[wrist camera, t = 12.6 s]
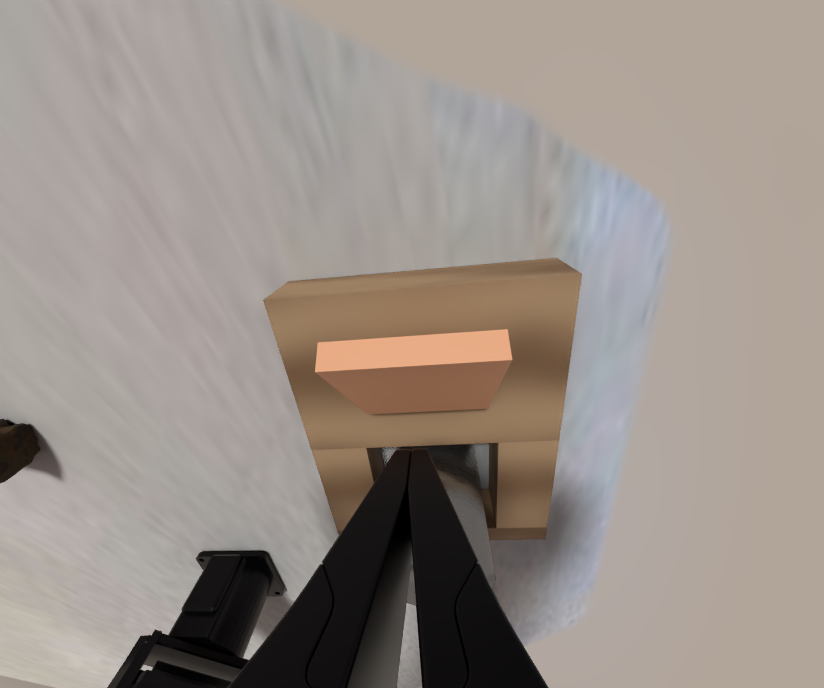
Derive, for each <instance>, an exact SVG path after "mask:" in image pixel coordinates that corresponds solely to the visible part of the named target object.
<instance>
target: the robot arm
mask: <svg viewBox="0 0 824 688" xmlns="http://www.w3.org/2000/svg"><path fill="white" fill-rule="evenodd" d="M412 557H413V570H414V583H415V596H416V609H417V623H418V636H419V649H420V662H421V675H422V688H548V686H547V685H546V683H545V681H544V680H543V678H542V676H541V675H540V673H539V671H538V670H537V668H536V666H535V665H534V663H533V661H532V660H531V658H530V656H529V655H528V653H527V651H526V650H525V648H524V646H523V645H522V643H521V641H520V640H519V638H518V636H517V635H516V633H515V631H514V629H513V627H512V626H511V624H510V622H509V620H508V619H507V617H506V615H505V613H504V611H503V610H502V608H501V606H500V604H499V602H498V600H497V598H496V596H495V594H494V592H493V590H492V588H491V586H490V584H489V582H488V580H487V578H486V576H485V573H484V571H483V569H482V567H481V565H480V564H479V563H478V559H477V556H476V554H475V552H474V550H473V548H472V546H471V543H470V541H469V539H468V537H467V535H466V533H465V530H464V528H463V526H462V524H461V522H460V520H459V517H458V515H457V513H456V511H455V509H454V507H453V504H452V502H451V500H450V498H449V496H448V493H447V491H446V489H445V487H444V485H443V483H442V480H441V478H440V476H439V474H438V472H437V470H436V467H435V465H434V463H433V461H432V459H431V457H430V454H429V452H428V450H427V449H425V448H420V449H413V450H412V451H411V450H410V449H398V450H396V451H395V452H394V454H393V455H392V457H391V458H390V460H389V461H388V463H387V464H386V466H385V467H384V469H383V470H382V472H381V473H380V475H379V476H378V478H377V479H376V481H375V482H374V484H373V485H372V487H371V488H370V490H369V491H368V493H367V494H366V496H365V497H364V499H363V500H362V502H361V503H360V505H359V506H358V508H357V510H356V511H355V513H354V514H353V516H352V517H351V519H350V520H349V522H348V523H347V525H346V526H345V528H344V529H343V531H342V532H341V534H340V535H339V537H338V538H337V540H336V541H335V543H334V544H333V546H332V547H331V549H330V550H329V552H328V553H327V555H326V556H325V558H324V559H323V561H322V563H323V565H322V564H320V565H319V567H318V568H317V570H316V571H315V573H314V574H313V576H312V577H311V579H310V580H309V582H308V583H307V585H306V586H305V588H304V589H303V591H302V592H301V593H300V595H299V596H298V598H297V599H296V601H295V602H294V603H293V605H292V606H291V608H290V609H289V610H288V611H287V613H286V614H285V615H284V617H283V618H282V619H281V621H280V622H279V623H278V624H277V626H276V627H275V628H274V630H273V631H272V632H271V634H270V635H269V636H268V637H267V639H266V640H265V641H264V642H263V644H262V645H261V646H260V647H259V649H258V650H257V651H256V652H255V654H254V655H253V656H252V657H251V659H250V660H247V659H244V658H243V656H244V654H245V651H246V649H247V646H248V644H249V641H250V638H251V636H252V633H253V631H254V628H255V626H256V623H257V620H258V618H259V615H260V613H261V610H262V608H263V605H264V602H265V600H266V597H267V596H282V595H283V593H284V590H285V589H284V587H283V585H282V583H281V581H280V579H279V577H278V575H277V573H276V571H275V569H274V567H273V565H272V563H271V561H270V559H269V557H268V555H267V554H266V553H265V552H260V551H259V552H200V553H199V554H198V556H197V558H196V560H197V562H198V563H199V565H200V566H201V567H202V569H203V572H202V574H201V576H200V577H199V579H198V581H197V583H196V584H195V586H194V588H193V590H192V591H191V593H190V595H189V596H188V598H187V600H186V602H185V603H184V605H183V607H182V612H181V614H180V616H179V617H178V619H177V621H176V623H175V624H174V626H173V628H172V630H171V631H170V633H169V635H166V634H162V631H158V630H155V631H154V632H153V634H152V636H151V635H148V636H140V638H139V640H138V641H137V643H136V644H135V646H134V647H133V649H132V651H131V652H130V654H129V655H128V657H127V659H126V660H125V662H124V663H123V665H122V666H121V668H120V669H119V671H118V672H117V674H116V675H115V677H114V678H113V680H112V681H111V683H110V684H109V686H108V687H107V688H397V679H398V671H399V662H400V654H401V645H402V637H403V629H404V620H405V612H406V603H407V595H408V586H409V578H410V570H411V561H412ZM143 664H144V665H148V666H151V667H153V669H152V670H151V671H150V670H146V671H143V670H141V668H142V666H143Z"/></svg>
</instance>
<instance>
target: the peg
mask: <svg viewBox="0 0 824 688" xmlns="http://www.w3.org/2000/svg"><path fill="white" fill-rule="evenodd" d="M420 448H425V449H427V450H428V452H429V454H430V457H431V459H432V461H433V463H434V465H435V467H436V470H437V472H438V474H439V476H440V478H441V480H442V483H443V485H444V487H445V489H446V491H447V493H448V496H449V498H450V500H451V502H452V504H453V507H454V509H455V511H456V513H457V515H458V517H459V520H460V522H461V524H462V526H463V528H464V530H465V533H466V535H467V537H468V539H469V541H470V543H471V546H472V548H473V550H474V552H475V554H476V556H477V559H478V563H479V564H480V565H481V567H482V569H483V571H484V573H485V576H486V578H487V580H488V582H489V584H490V586H491V588H493V587H494V584H495V572H494V566H493V559H492V553H491V547H490V541H489V535H488V529H487V523H486V516H485V510H484V504H483V498H482V492H481V486H480V480H479V474H478V467H477V461H476V455H475V449H474V445H473V444H454V445H429V446H403V447H397V448H396V450H398V449H410V450H411V451H412V450H413V449H420ZM407 603H409V604H412V605H416V596H415V583H414V570H413V557H412V561H411V570H410V578H409V586H408V595H407Z"/></svg>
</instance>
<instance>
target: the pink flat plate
mask: <svg viewBox="0 0 824 688" xmlns="http://www.w3.org/2000/svg"><path fill="white" fill-rule="evenodd" d="M511 362H512V354H511V348H510V341H509V335H508V329H504V330H490V331H475V332H461V333H447V334H432V335H418V336H404V337H389V338H375V339H361V340H346V341H332V342H318V345H317V356H316V366H315V373H317V374H318V375H319V376H320V377H322V378H323V379H324V380H325V381H327V382H328V383H329V384H330V385H332V386H333V387H334V388H335V389H337V390H338V391H339V392H340V393H342V394H343V395H344V396H345V397H347V398H348V399H349V400H350V401H351V402H353V403H354V404H355V405H356V406H358V407H359V408H360V409H361V410H363V411H364V412H365V413H366V414H388V413H409V412H429V411H450V410H470V409H488V407H489V405H490V403H491V401H492V399H493V397H494V395H495V393H496V391H497V389H498V387H499V385H500V383H501V381H502V379H503V377H504V375H505V373H506V372H507V370H508V368H509V366H510V364H511Z"/></svg>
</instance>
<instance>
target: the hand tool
mask: <svg viewBox="0 0 824 688" xmlns="http://www.w3.org/2000/svg"><path fill="white" fill-rule="evenodd" d="M39 450H40V449H39V446H38V443H37V437H36V435H35V433H34V430H33V429H32V428H31V427H30V426H29V425H26V424H23V423H22V424H16V425H12V426H10V425H9V424H8V422H7V421H6V420H4V419H0V483H2V482H5V481H6V480H8V479H9V478H11V477H12V476H13V475H15V474H16V473H17V472H19V471H20V470H21V469H22V468H24V467H25V466H26V465H29V464H30V463H31V462H32V461H33V459H34V456H35V455H36V454H37V452H38V451H39Z"/></svg>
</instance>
